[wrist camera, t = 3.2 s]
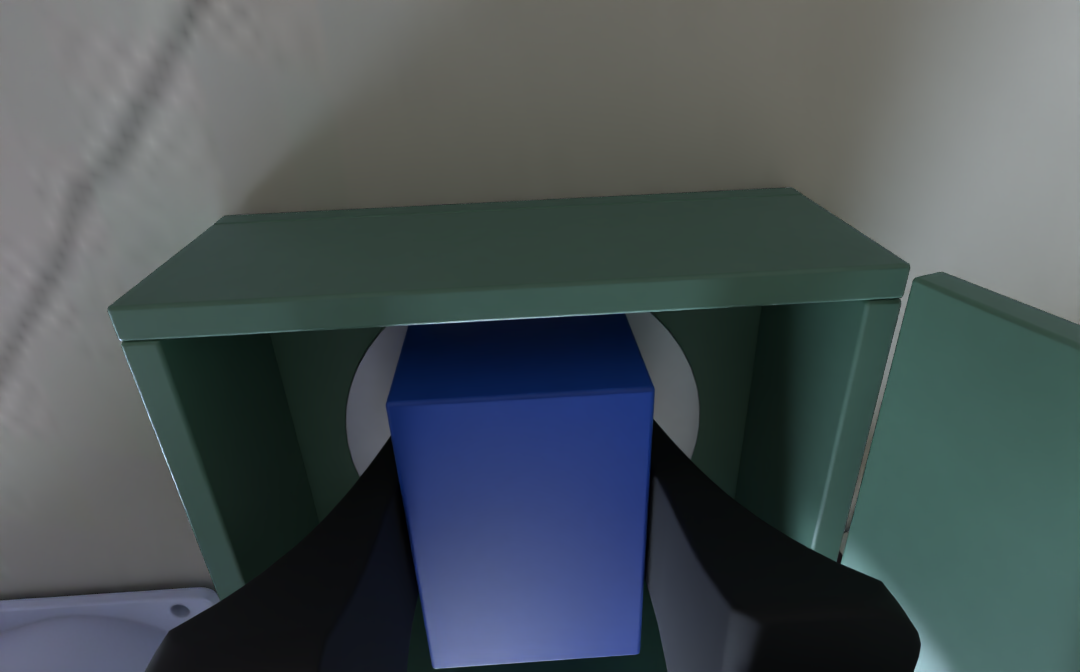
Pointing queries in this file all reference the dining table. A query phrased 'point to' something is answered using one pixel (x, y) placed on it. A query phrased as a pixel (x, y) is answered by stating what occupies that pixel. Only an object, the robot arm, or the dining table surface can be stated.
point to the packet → (525, 485)
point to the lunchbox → (506, 294)
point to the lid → (978, 482)
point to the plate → (653, 338)
